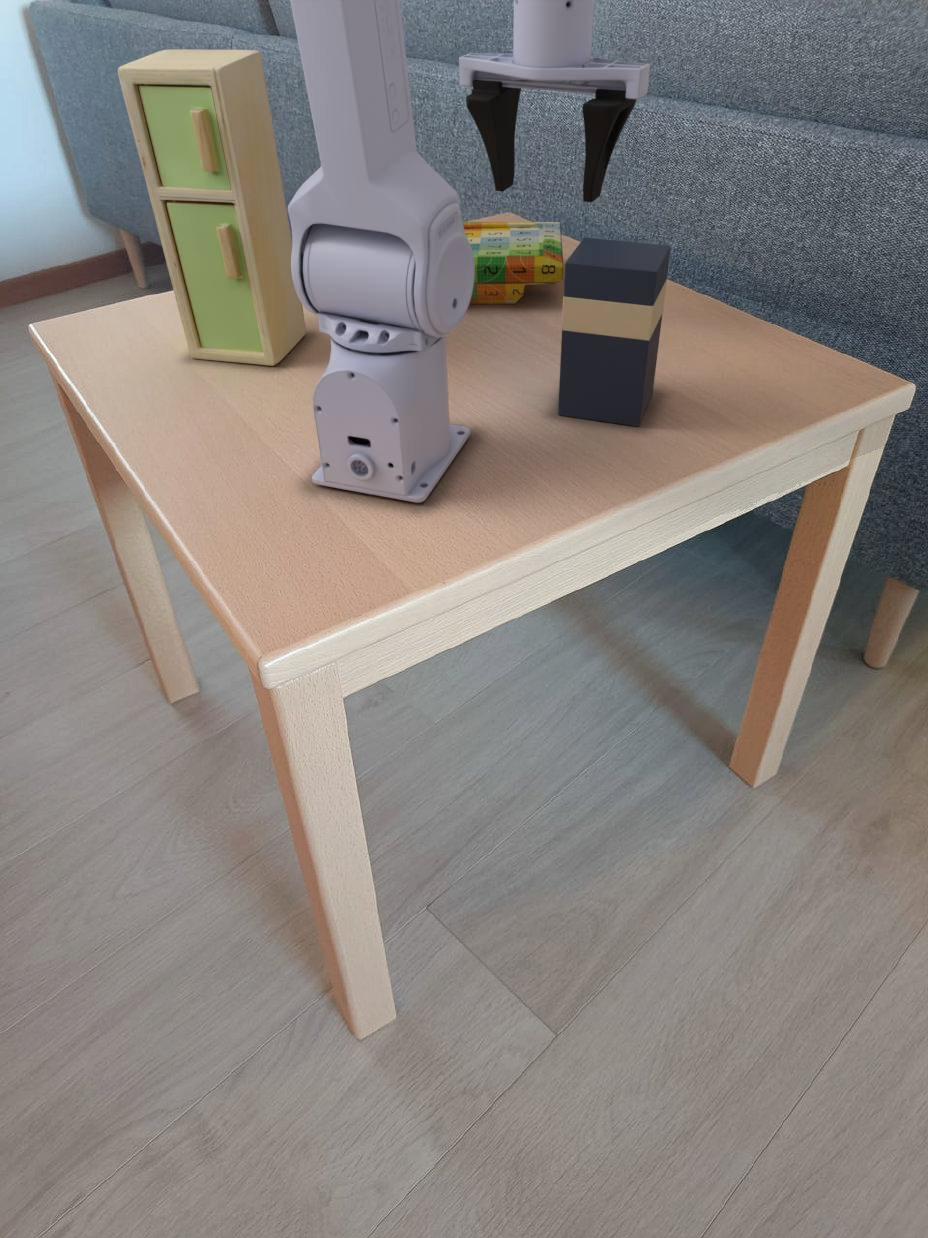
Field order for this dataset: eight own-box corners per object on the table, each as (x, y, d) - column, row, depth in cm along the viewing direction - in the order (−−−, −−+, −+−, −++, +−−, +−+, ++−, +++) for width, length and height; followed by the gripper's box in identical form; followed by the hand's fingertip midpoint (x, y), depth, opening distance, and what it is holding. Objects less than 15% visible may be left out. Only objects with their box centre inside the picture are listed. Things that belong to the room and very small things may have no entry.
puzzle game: (353, 214, 86) (560, 212, 85) (358, 263, 89) (558, 262, 88) (333, 257, 78) (564, 255, 76) (339, 310, 81) (561, 309, 79)
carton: (639, 427, 63) (657, 271, 56) (557, 415, 65) (564, 262, 58) (652, 395, 67) (671, 244, 60) (574, 384, 69) (583, 236, 61)
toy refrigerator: (182, 362, 73) (109, 66, 59) (224, 326, 79) (165, 47, 65) (271, 372, 72) (216, 69, 58) (307, 334, 77) (265, 49, 63)
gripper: (671, -17, 63) (649, 189, 72) (486, -22, 68) (488, 170, 77) (638, -4, 58) (619, 214, 67) (443, -10, 64) (450, 193, 72)
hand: (547, 193), depth 72 cm, fingers open, 7 cm apart
